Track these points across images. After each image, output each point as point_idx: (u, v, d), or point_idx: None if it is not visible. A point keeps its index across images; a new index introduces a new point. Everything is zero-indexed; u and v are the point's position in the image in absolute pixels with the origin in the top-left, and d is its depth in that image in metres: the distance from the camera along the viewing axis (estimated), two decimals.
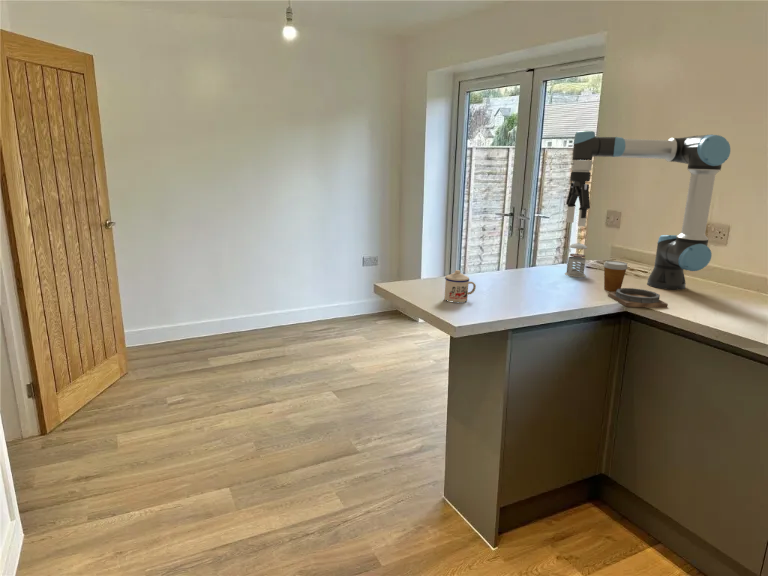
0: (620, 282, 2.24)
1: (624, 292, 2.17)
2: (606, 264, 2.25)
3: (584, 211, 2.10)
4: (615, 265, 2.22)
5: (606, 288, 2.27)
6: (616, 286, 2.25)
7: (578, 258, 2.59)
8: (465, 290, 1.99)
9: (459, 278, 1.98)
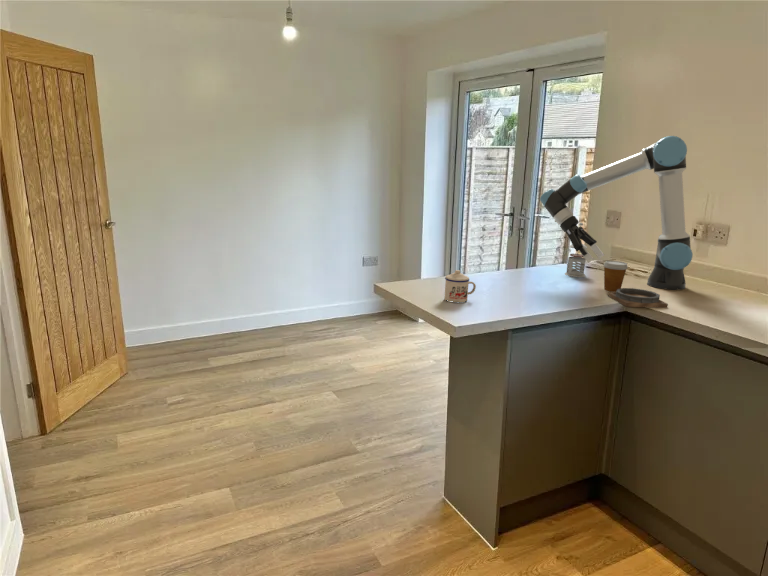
0: (620, 282, 2.24)
1: (624, 292, 2.17)
2: (606, 264, 2.25)
3: (581, 249, 2.25)
4: (615, 265, 2.22)
5: (606, 288, 2.27)
6: (616, 286, 2.25)
7: (578, 258, 2.59)
8: (465, 290, 1.99)
9: (459, 278, 1.98)
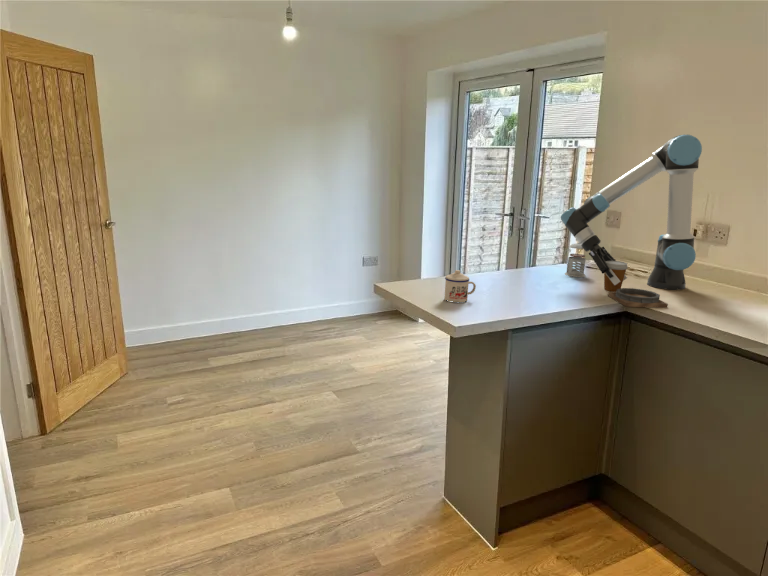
0: (620, 282, 2.24)
1: (624, 292, 2.17)
2: None
3: (607, 272, 2.22)
4: (615, 265, 2.22)
5: (606, 288, 2.27)
6: (616, 286, 2.25)
7: (578, 258, 2.59)
8: (465, 290, 1.99)
9: (459, 278, 1.98)
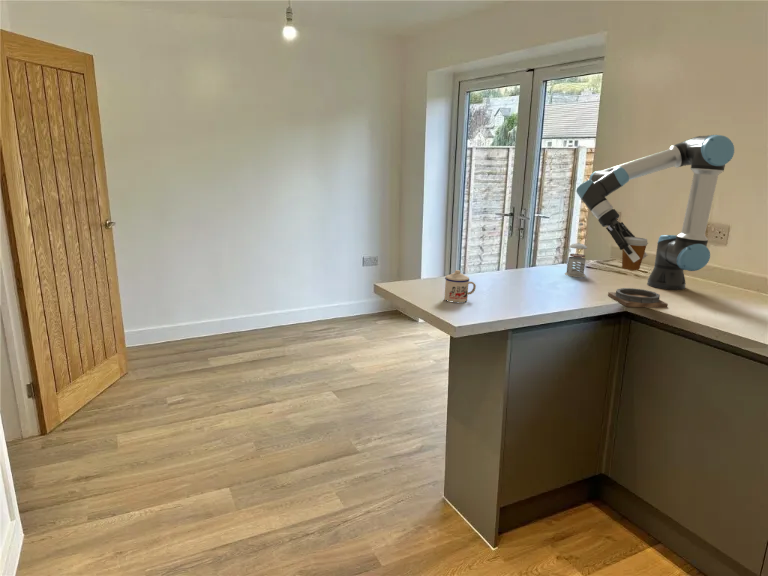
0: (639, 259, 2.08)
1: (624, 292, 2.17)
2: None
3: (625, 248, 2.06)
4: (634, 241, 2.06)
5: (624, 266, 2.11)
6: (635, 264, 2.09)
7: (578, 258, 2.59)
8: (465, 290, 1.99)
9: (459, 278, 1.98)
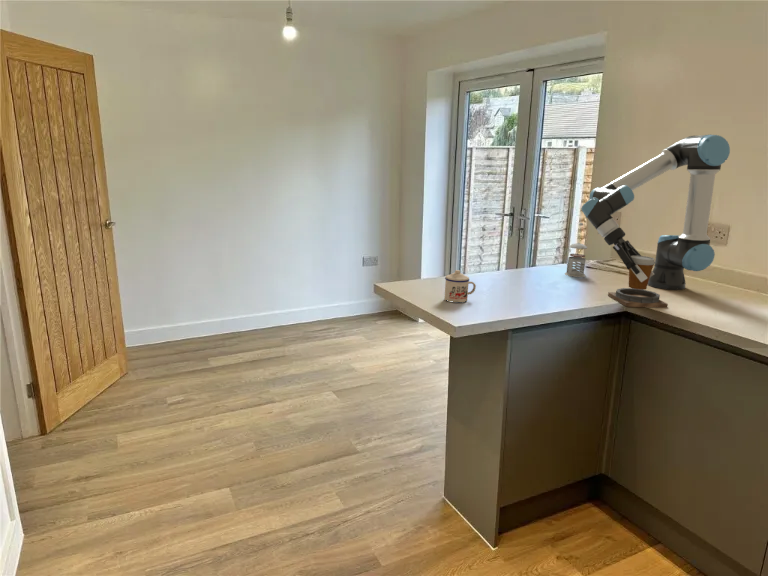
0: (647, 279, 2.06)
1: (624, 292, 2.17)
2: None
3: (633, 268, 2.03)
4: (642, 260, 2.03)
5: (631, 285, 2.08)
6: (642, 283, 2.06)
7: (578, 258, 2.59)
8: (465, 290, 1.99)
9: (459, 278, 1.98)
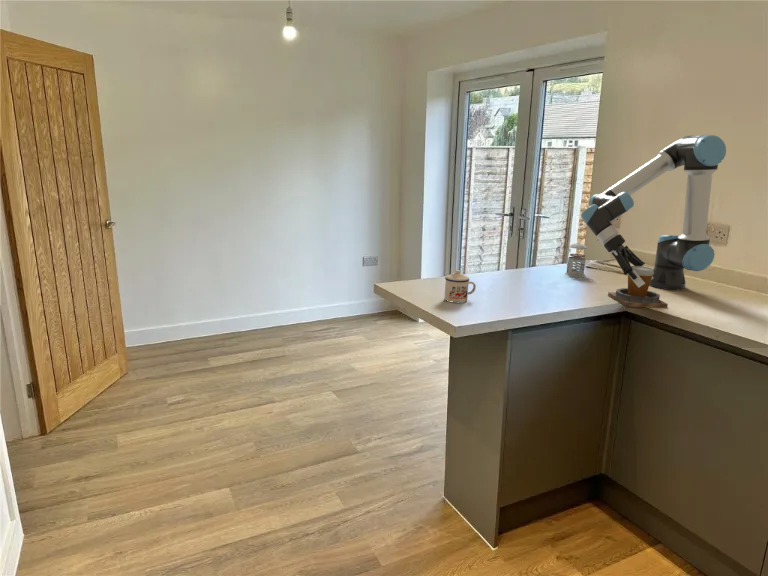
0: (645, 289, 2.06)
1: (624, 292, 2.17)
2: None
3: (630, 273, 2.03)
4: (640, 271, 2.04)
5: None
6: (641, 294, 2.07)
7: (578, 258, 2.59)
8: (465, 290, 1.99)
9: (459, 278, 1.98)
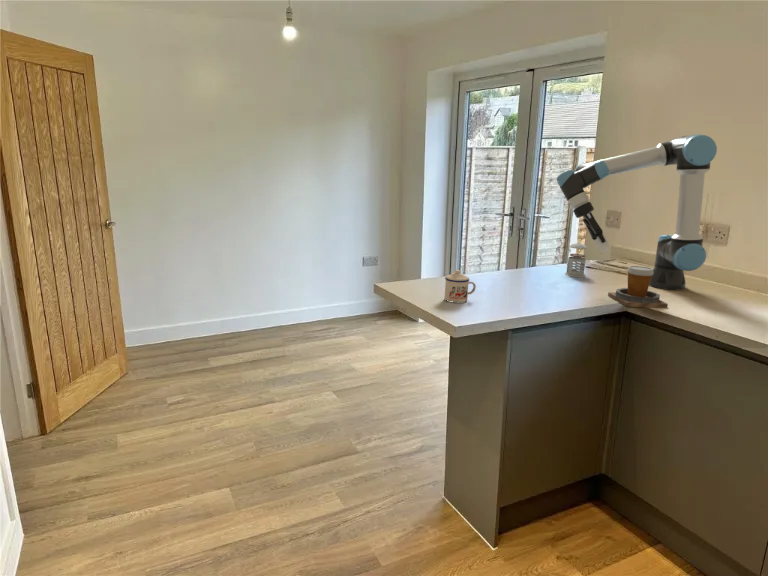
0: (645, 289, 2.06)
1: (624, 292, 2.17)
2: (630, 270, 2.07)
3: (600, 236, 2.10)
4: (640, 271, 2.04)
5: None
6: (641, 294, 2.07)
7: (578, 258, 2.59)
8: (465, 290, 1.99)
9: (459, 278, 1.98)
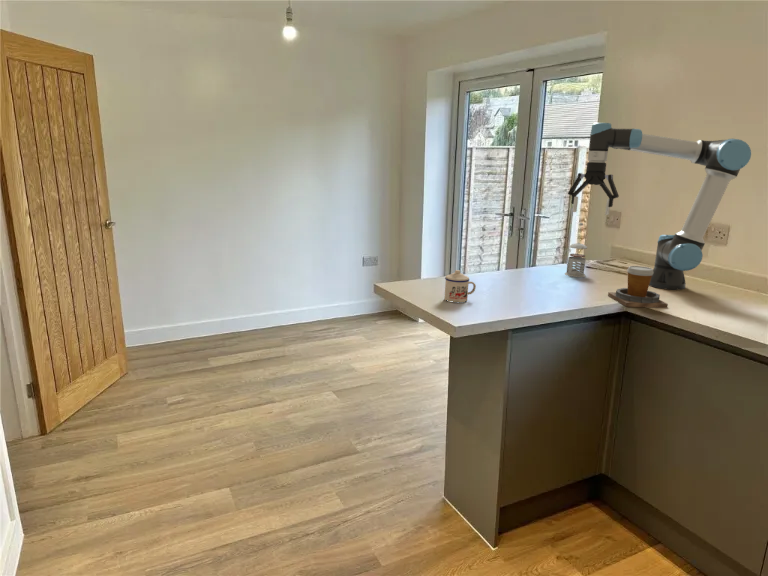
0: (645, 289, 2.06)
1: (624, 292, 2.17)
2: (630, 270, 2.07)
3: (612, 200, 2.20)
4: (640, 271, 2.04)
5: None
6: (641, 294, 2.07)
7: (578, 258, 2.59)
8: (465, 290, 1.99)
9: (459, 278, 1.98)
